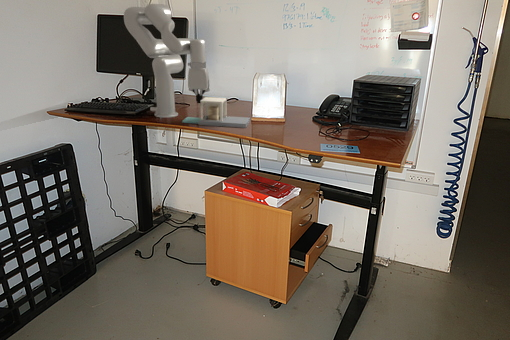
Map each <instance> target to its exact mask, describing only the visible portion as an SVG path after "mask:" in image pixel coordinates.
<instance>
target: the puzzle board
mask: <svg viewBox="0 0 510 340" xmlns="http://www.w3.org/2000/svg"><path fill="white" fill-rule="evenodd" d="M250 122H251V117H246V116H245V117H243V116H229V115H228V116H227V115H226V117H223V121H220V117H219V121H218V120H208V116H206V114H205V115H203V120H201V119H200V120H199V124H198V126H211V127H226V128H240V129H241V128H242V129H246V128H247V127H248V126H249V124H250Z"/></svg>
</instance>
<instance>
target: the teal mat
mask: <svg viewBox="0 0 510 340" xmlns="http://www.w3.org/2000/svg"><path fill="white" fill-rule="evenodd" d="M200 119H201V117H191V116H186V118H184V119H183V120H182V121H181V124H182V123H185V124H198V125H199V120H200Z"/></svg>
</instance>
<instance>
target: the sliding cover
mask: <svg viewBox="0 0 510 340" xmlns="http://www.w3.org/2000/svg"><path fill="white" fill-rule="evenodd" d="M199 104H200V105H199V107H200V118H201V120H203V117H204V110H205V115H206V116H208V107H210V106H219V117H220V121H223V117H226V116H227V98H226V97H214V96H212V97H210V96H205V97H203V99H202V100H201V101H200V103H199ZM204 106H205V109H204Z"/></svg>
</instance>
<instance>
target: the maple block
mask: <svg viewBox="0 0 510 340" xmlns="http://www.w3.org/2000/svg"><path fill="white" fill-rule="evenodd" d="M208 120H218V121H219V106H210V107H208Z"/></svg>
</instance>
